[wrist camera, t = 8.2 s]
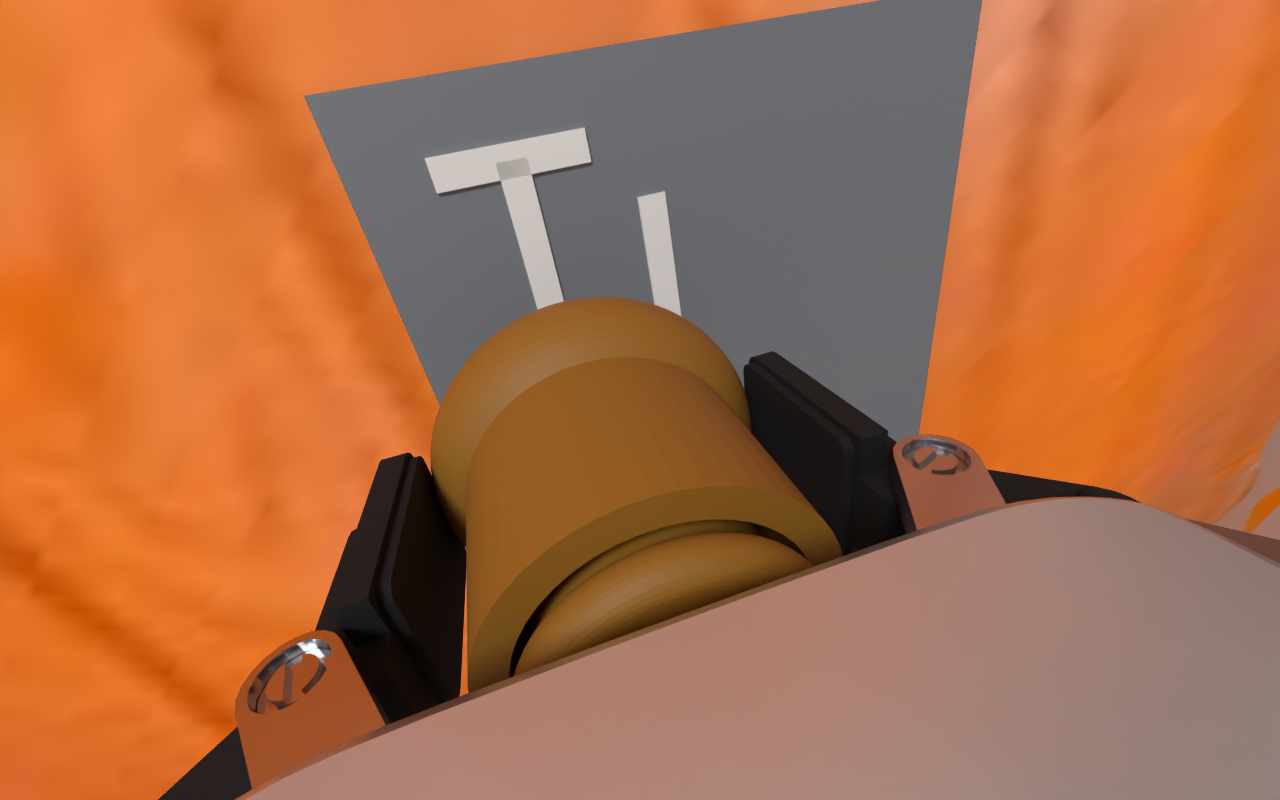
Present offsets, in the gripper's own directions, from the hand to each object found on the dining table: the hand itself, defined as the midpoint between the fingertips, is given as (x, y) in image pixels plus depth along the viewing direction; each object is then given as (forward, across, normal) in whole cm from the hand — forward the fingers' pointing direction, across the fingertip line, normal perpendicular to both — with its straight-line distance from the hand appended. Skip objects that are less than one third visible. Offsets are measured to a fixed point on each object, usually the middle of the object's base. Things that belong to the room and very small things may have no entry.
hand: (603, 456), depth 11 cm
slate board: (+5, -5, +4) cm, 8 cm away
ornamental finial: (+2, 0, 0) cm, 2 cm away
